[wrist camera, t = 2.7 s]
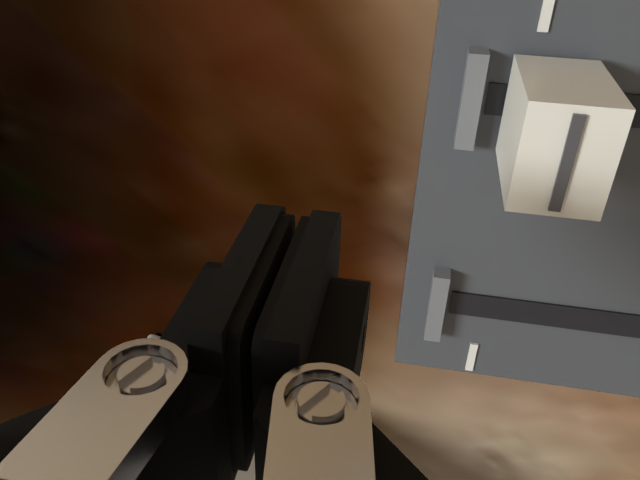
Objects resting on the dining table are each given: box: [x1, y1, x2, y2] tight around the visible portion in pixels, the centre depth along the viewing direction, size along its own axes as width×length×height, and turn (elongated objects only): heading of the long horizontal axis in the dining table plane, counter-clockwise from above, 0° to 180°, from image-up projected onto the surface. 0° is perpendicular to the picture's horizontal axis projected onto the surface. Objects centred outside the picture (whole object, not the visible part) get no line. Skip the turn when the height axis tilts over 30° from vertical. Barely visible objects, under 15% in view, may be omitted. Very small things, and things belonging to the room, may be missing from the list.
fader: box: [495, 54, 636, 222], centre depth 17 cm, size 3×2×4 cm
